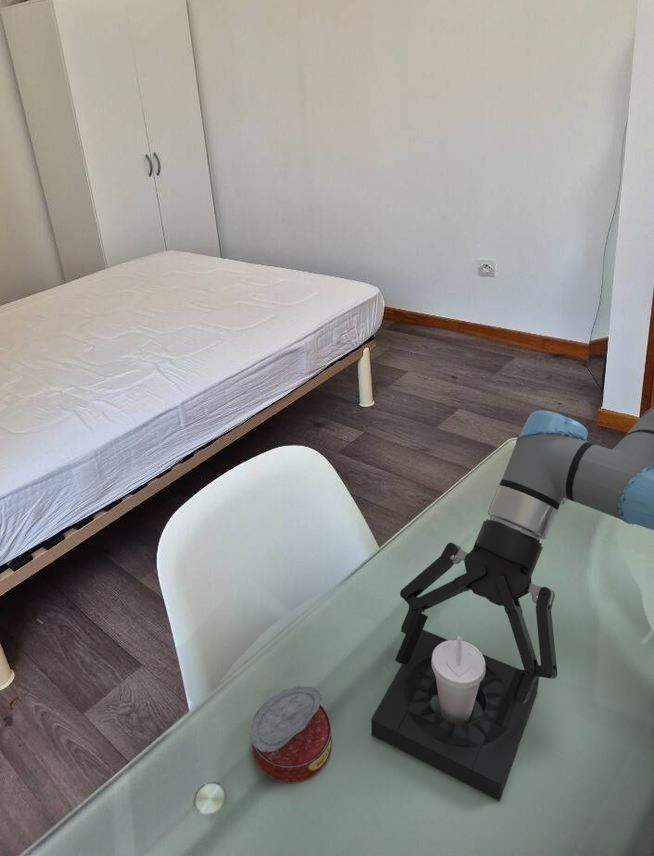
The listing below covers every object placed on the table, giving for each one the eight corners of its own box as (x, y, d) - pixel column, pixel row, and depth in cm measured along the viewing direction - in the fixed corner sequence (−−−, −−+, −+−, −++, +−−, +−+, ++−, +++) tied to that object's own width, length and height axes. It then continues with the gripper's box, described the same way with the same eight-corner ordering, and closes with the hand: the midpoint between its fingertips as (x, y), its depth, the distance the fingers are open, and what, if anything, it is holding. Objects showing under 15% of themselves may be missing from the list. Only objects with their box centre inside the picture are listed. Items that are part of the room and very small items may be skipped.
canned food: (283, 808, 83) (240, 781, 77) (262, 729, 91) (222, 700, 86) (361, 759, 82) (324, 729, 77) (333, 684, 91) (297, 652, 85)
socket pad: (537, 693, 89) (539, 677, 88) (499, 801, 78) (501, 784, 76) (421, 644, 98) (421, 628, 96) (371, 735, 86) (371, 719, 84)
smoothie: (428, 732, 86) (431, 652, 79) (430, 688, 91) (433, 610, 85) (482, 741, 84) (489, 660, 78) (480, 695, 90) (487, 617, 83)
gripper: (623, 578, 81) (557, 753, 78) (438, 498, 97) (377, 641, 94) (612, 569, 76) (541, 757, 72) (418, 486, 91) (352, 637, 88)
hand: (448, 692), depth 83 cm, fingers open, 13 cm apart
